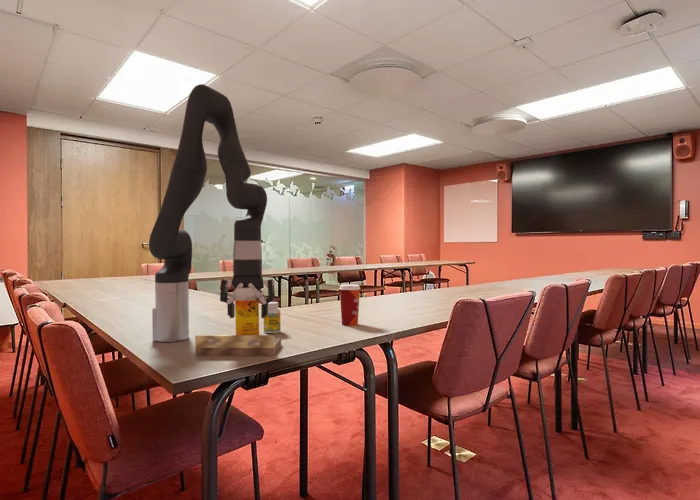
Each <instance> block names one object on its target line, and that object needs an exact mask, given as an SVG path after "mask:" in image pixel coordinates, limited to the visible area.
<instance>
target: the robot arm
mask: <svg viewBox="0 0 700 500" xmlns="http://www.w3.org/2000/svg"><path fill="white" fill-rule="evenodd" d="M184 113H185V114H184V118H183V124H182V131H181V136H180V139H179V143H178V147H177V151H176V155H175V158H174V161H173V165H172V167H171V172H170V175H169V179H168V184H167V188H166V191H165V193H164V197H163V200H162V204H161V207H160V210H159V213H158V216H157V218H156V220H155V223H154V226H153V227H152V229H151V230H152V231H151V233H150V236H149V240H148V248H149V252H150V253H151V255H152V256H153V257H154V258H156V259H158V260H164V263H163V265H162V267H161V269H159V270H158V271H156V273H155V274H154V282H155V283H154V284H155V285H154V292H155V293H154V295H155V297H154V298H155V299H154V300H155V304H154V305H155V306H154V307H152V309H151V310H152V311H151V312H152V314H151V315H152V316H151V317H152V320H151V321H152V326H151V327H152V341H153V342H154V341H155V342H160V343H172V342H180V341H185V340H188V339H190V318H189V317H190V306H189V305H190V303H189V300H190V299H189V298H190V297H189V295H190V294H189V287H190V285H189V279H190V278H189V277H190V274H191V271H192V264H193V263H192V261H193V259H192V258H193V241H192V238H191V235H190V234H189V232H188V231H186V230H185V229H183V228H181V224H182V220H183V217H184V216H185V214H186V212H187V211H188V209H189V208H190V207H191V205H192V204H194V202H195V201H196V200H197V198H198V197H199V195H200V193H201V191H202V190H203V186H204V182H205V179H206V176H207V171H208V163H207V157H206V152H205V149H204V148H205V147H204V145H203V143H204V142H203V133H204V127H205V124H206V122H207V123H209V124H211V125H213V126H214V128H215V130H216V131H217V134H218V136H219V142H218V147H217V157H218V161H219V164H220V166H221V169H222V172H223V174H224V178H225V192H226V193H225V194H226V198H227V199H226V200H227V202H228V203H229V204H230V205H231V206H232V207H233V208H234V209H237V210H247V211H246V214H245V216H244V217H243V218H238V219H236V220H235V221H234V226H233V250H232V260H233V261H232V262H233V263H232V264H233V265H232V273H233V274H232V275H233V277H232V279H227V278H224V279H221V280H220V291H219V292H220V293H219V300H220V302H222V303H225V304H226V305H227V316H228V317H229V319H234V318H235V317H236V315H235V303H234V302H235V291H236V289H237V288H250V287H252V289H254V291H255V295H256V296H257V298H258V301H260V302H261V305H260V307H261V309H260V310H261V311H260V313H261V319H264V318H265V317H266V316H267V315H268V303H269V302H275V299H276V296H275V295H276V294H275V280H274V279H273V278H269V279H264V278H263V249H262V248H263V247H262V224H263V220H264V216H265V211H266V208H267V204H268V194H267V193H266V192H267V191H266V190H265V188H264V187H263V186H262V185H260V184H254V183H247V182H246V181H247V180H248V179H249V178H250V176H251V174H252V173H251V167H250V166H249V163H248V160H247V158H246V154H245V153H244V150H243V148H242V144H241V142H240V138H239V133H238V129H237V124H236V121H235V115H234V110H233V107H232V104H231V101H230V100H229V98H228V97H227V96H226V95H225V94H223V93H221V92H220V91H217V90H216V89H214V88H212V87H210V86H208V85H206V84H203V83H199V84H196V85H195V86H194V87H193V88H192V90H191V91H190V93H189V96H188V98H187V102H186V108H185V112H184ZM264 285H265V288H267V294H268V295H267V296H268V297H267V296H266V295H265V293H264V292H263V290H262V289H261V288H262V287H263V286H264ZM231 286H232V287H233V288H234V290H233V291H232V293H231V295H230V296H228V293H229V292H228V291H229V287H231ZM236 287H237V288H236Z"/></svg>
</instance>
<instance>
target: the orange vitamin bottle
mask: <svg viewBox="0 0 700 500" xmlns="http://www.w3.org/2000/svg"><path fill="white" fill-rule="evenodd" d="M236 288H237V287H236ZM234 302H235V335H260V315H259V314H260V312H259V311H260V310H259V298H257V296H256V295H255V291H254V289H252V287H250V288H237V289H236V291H235V301H234Z"/></svg>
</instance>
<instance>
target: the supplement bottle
mask: <svg viewBox="0 0 700 500" xmlns="http://www.w3.org/2000/svg"><path fill="white" fill-rule="evenodd" d="M278 307H279V302H278V301H272V302H269V303H268V315H267V316H266V317H265V318H263V332H265V333H264V334H267V333H275V334H279V333H280V332H281V309H280V308H278ZM278 332H279V333H278Z"/></svg>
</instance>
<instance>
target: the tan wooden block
mask: <svg viewBox="0 0 700 500" xmlns="http://www.w3.org/2000/svg"><path fill="white" fill-rule="evenodd" d="M274 335H275V334H272V335H271V334H268V335H267V334H266V335H265V334H263V335H261V334H259V335H236V334H233V335H232V334H228V335H227V334H225V335H224V334H221V335H220V334H197V335H195V336H194V339H195V342H194V343H195V350H194V351H195V354H194V355H195V356H221V357H222V356H229V357H230V356H233V357H234V356H238V357H239V356H244V357H245V356H247V357H248V356H249V357H250V356H259V357H260V356H264V357H265V356H267V357H268V356H270V357H272V356H274V355H275V354H276V353H277V352H278V350H279V349H278V348H280V347H281V346H280V345H282V337H275V336H274ZM275 352H276V353H275Z"/></svg>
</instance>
